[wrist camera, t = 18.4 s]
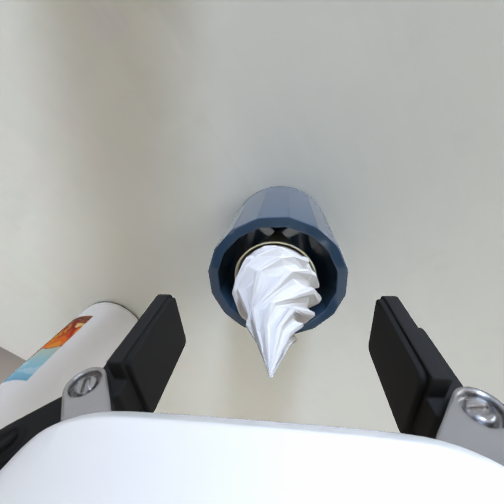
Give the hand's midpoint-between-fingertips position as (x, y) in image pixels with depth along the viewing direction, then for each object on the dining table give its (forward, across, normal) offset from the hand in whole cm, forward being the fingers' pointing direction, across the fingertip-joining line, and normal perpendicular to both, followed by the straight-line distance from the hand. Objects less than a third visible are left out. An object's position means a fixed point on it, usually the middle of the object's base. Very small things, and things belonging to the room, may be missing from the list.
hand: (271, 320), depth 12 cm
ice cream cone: (+12, 0, 0) cm, 12 cm away
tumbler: (+13, 0, +1) cm, 13 cm away
